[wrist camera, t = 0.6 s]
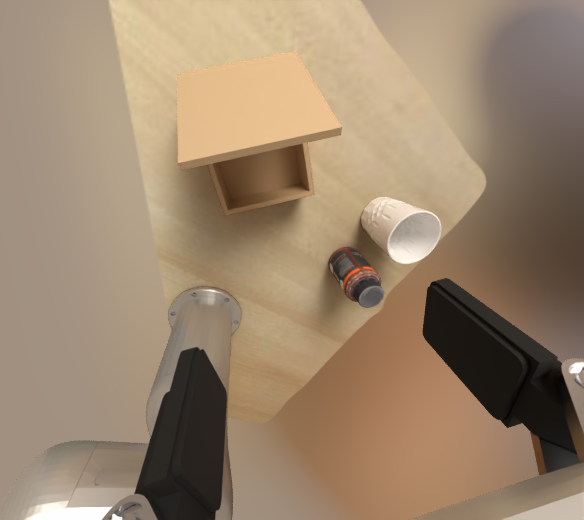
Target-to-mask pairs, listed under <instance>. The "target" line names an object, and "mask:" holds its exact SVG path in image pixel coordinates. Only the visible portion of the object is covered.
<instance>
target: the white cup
mask: <svg viewBox="0 0 584 520" xmlns="http://www.w3.org/2000/svg"><path fill="white" fill-rule="evenodd" d="M361 223H362V227H363V228H364V230H365V231H366V232H367V233H368V234H369V236H370V237H371V238H372V239H373V240H374V241H375V242H376V244H377V245H378V246H379V247H380V248H381V249H382V250H383V251H384V252H385V253H386V254H387V255H388V256H389V257H390V258H391V259H392V260H394V261H395V262H397V263H400V264H411V263H415V262H417V261H419V260H421V259H423V258H424V257H426V256H427V255H428V254H429V253H430V252H431V251H432V250H433V249H434V247H435V246H436V245H437V243H438V241H439V238H440V235H441V223H440V221H439V219H438V217H437V216H436V215H435V214H433V213H431V212H429V211H426V210H423V209H421V208H418V207H415V206H413V205H410V204H407V203H404V202H401V201H398V200H394V199H391V198H389V197H378V198H376V199H375V200H373V201H371V202H370V203H369V204H368V205H367V206H366V207H365V208H364V210H363V213H362V216H361Z"/></svg>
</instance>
